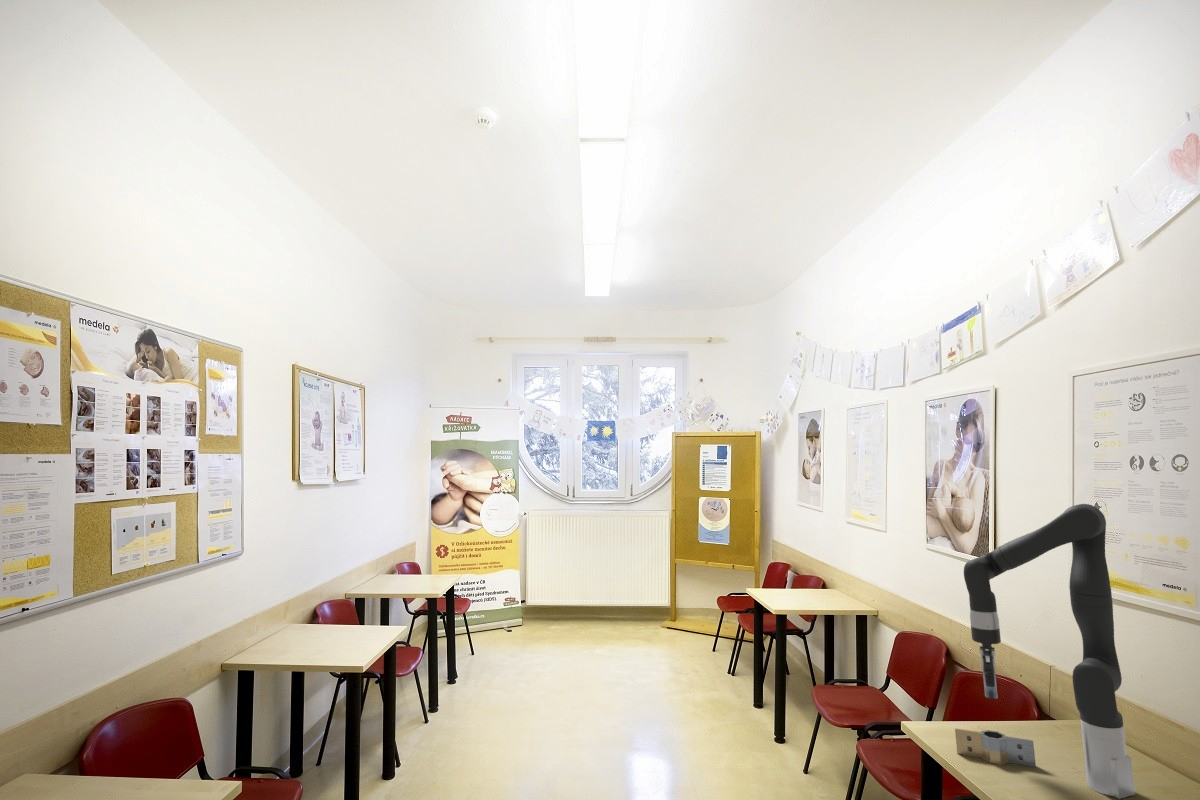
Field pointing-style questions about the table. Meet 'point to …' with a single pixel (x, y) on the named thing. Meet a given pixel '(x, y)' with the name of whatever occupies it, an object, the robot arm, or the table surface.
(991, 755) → the hinge
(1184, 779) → the table surface
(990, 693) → the pin
